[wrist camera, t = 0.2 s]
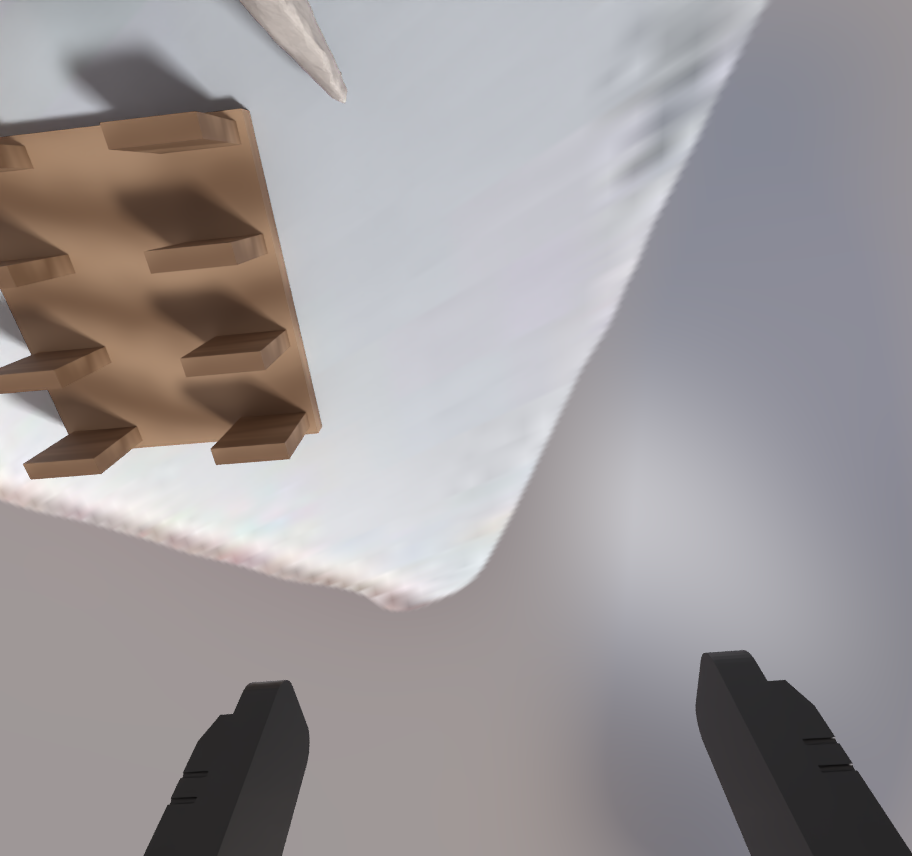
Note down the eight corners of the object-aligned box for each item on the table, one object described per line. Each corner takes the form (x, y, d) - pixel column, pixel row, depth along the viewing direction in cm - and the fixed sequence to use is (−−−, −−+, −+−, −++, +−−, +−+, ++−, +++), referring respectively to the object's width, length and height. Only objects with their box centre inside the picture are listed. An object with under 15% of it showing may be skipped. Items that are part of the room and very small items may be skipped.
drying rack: (-49, 146, 32) (-157, 139, 27) (249, 110, 31) (201, 95, 25) (87, 445, 41) (27, 487, 36) (322, 426, 40) (298, 466, 34)
